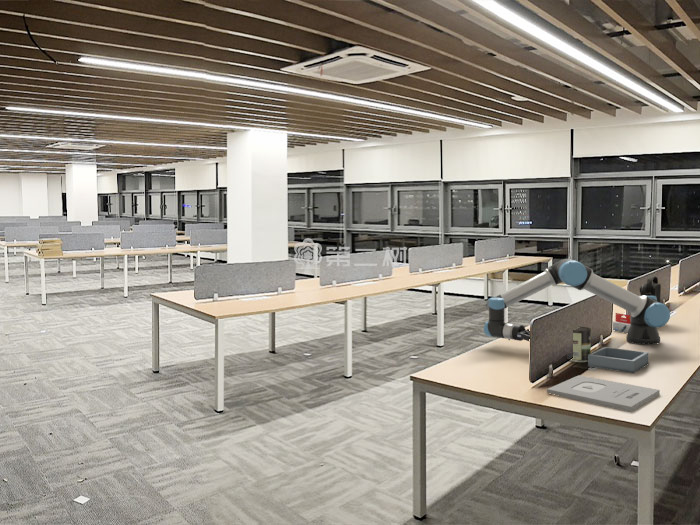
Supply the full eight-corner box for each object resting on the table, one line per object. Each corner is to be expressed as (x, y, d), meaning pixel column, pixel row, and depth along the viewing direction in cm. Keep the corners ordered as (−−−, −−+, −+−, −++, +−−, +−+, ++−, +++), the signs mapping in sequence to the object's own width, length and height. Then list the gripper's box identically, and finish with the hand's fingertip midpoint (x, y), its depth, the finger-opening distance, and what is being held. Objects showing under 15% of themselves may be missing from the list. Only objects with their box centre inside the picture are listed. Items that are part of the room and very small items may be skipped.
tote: (604, 357, 262) (604, 346, 262) (648, 364, 249) (648, 352, 249) (588, 366, 249) (588, 354, 248) (633, 373, 236) (633, 361, 236)
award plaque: (631, 413, 192) (631, 406, 192) (547, 394, 214) (546, 389, 214) (659, 395, 209) (659, 389, 209) (578, 380, 231) (578, 375, 231)
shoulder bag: (655, 328, 320) (655, 278, 318) (637, 327, 326) (637, 277, 323) (663, 322, 338) (663, 274, 336) (645, 320, 343) (646, 273, 341)
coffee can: (588, 356, 265) (588, 326, 264) (593, 362, 255) (593, 330, 254) (564, 356, 267) (564, 326, 266) (568, 362, 257) (568, 330, 256)
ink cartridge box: (629, 334, 309) (629, 316, 308) (612, 330, 319) (612, 313, 318) (632, 333, 310) (632, 315, 309) (615, 330, 320) (615, 312, 319)
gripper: (527, 335, 291) (568, 341, 276) (501, 344, 273) (544, 350, 258) (527, 320, 290) (568, 325, 275) (501, 328, 272) (544, 334, 257)
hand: (557, 337), depth 267 cm, fingers open, 13 cm apart
